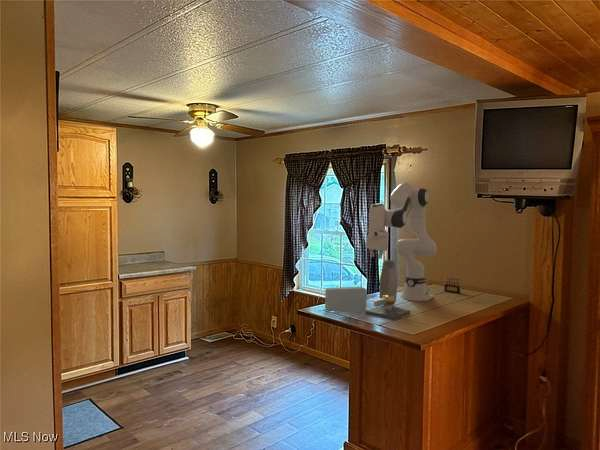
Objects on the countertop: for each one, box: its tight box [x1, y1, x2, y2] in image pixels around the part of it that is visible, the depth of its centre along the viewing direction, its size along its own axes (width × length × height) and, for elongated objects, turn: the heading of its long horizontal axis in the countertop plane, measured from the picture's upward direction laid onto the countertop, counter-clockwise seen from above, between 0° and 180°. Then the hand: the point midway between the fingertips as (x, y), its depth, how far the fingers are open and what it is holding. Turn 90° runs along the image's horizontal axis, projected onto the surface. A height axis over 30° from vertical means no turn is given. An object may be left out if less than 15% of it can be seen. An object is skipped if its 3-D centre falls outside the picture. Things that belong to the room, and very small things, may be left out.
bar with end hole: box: [324, 286, 368, 313], centre depth 258 cm, size 23×6×13 cm, turn 103°
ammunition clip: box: [443, 274, 461, 294], centre depth 312 cm, size 11×2×12 cm, turn 52°
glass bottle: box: [379, 259, 398, 306], centre depth 270 cm, size 10×10×28 cm
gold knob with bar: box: [373, 295, 397, 308], centre depth 247 cm, size 18×9×4 cm, turn 139°
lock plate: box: [365, 304, 411, 321], centre depth 251 cm, size 18×18×6 cm
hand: (376, 257), depth 248 cm, fingers open, 8 cm apart
